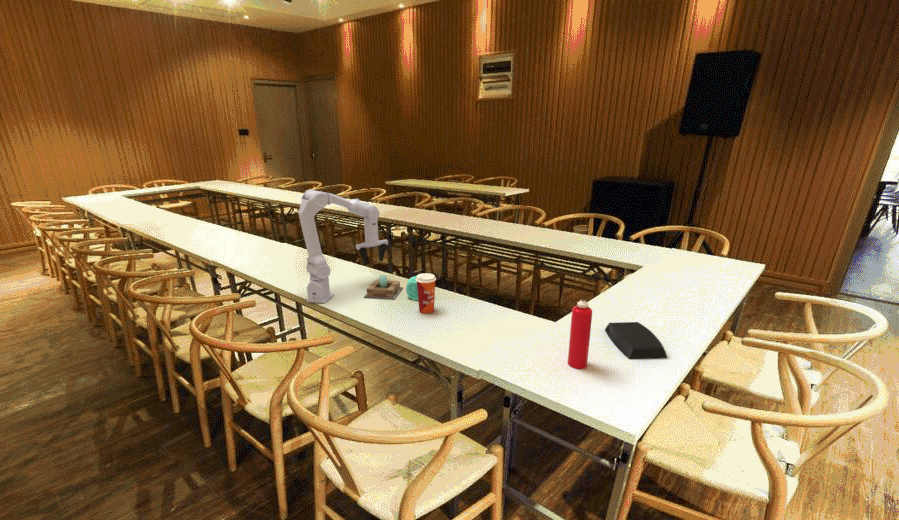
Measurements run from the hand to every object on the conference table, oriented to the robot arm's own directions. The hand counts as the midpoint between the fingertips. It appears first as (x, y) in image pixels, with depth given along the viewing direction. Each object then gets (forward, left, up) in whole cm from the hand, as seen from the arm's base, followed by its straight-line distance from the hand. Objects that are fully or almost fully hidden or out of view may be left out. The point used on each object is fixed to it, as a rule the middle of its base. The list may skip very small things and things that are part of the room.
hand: (373, 262), depth 186 cm
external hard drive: (-41, -101, -11) cm, 110 cm away
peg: (-11, -8, -9) cm, 16 cm away
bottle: (-57, -82, -10) cm, 100 cm away
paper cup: (-26, -30, -10) cm, 41 cm away
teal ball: (-13, -24, -10) cm, 29 cm away
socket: (-11, -8, -10) cm, 17 cm away
